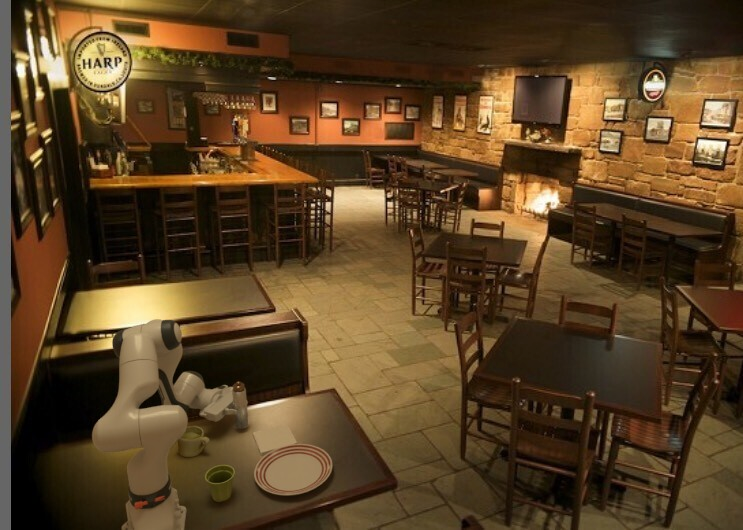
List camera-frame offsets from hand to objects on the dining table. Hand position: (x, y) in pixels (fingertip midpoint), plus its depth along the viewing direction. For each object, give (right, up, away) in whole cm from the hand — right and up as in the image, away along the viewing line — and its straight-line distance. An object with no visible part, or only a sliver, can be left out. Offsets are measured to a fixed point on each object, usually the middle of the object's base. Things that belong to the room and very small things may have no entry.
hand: (242, 407), depth 203 cm
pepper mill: (-1, -8, +2) cm, 8 cm away
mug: (-15, -14, -10) cm, 23 cm away
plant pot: (+2, -21, -33) cm, 38 cm away
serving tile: (+14, -12, -4) cm, 18 cm away
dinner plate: (+24, -18, -22) cm, 37 cm away
